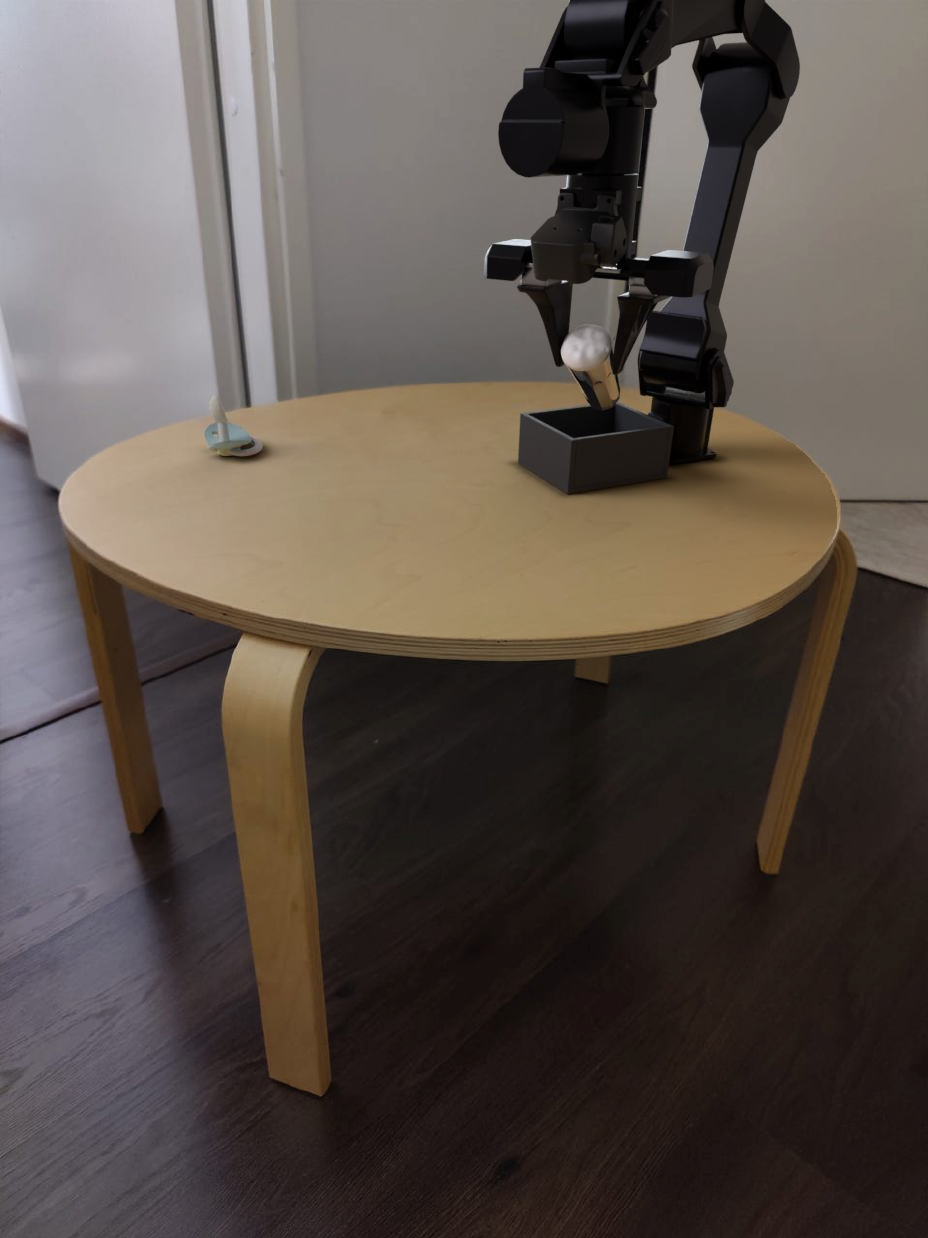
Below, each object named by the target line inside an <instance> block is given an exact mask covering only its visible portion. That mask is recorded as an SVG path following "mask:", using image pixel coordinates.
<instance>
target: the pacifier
mask: <svg viewBox="0 0 928 1238" xmlns="http://www.w3.org/2000/svg"><path fill="white" fill-rule="evenodd" d="M208 409H209V413H210V415H211V417H212V419H213V420H214V421H215V422H213V423H211V424H209V425H208V426H207V427H206V428H205V430H204V433H203V436H204V439H205V441H206V443H207V444H209V445H207V449H211V450H216V451H217V454H218V455H220V456H224V457H229V456H236V457H247V456H253V455H257V454H258V453H260V452H261V451H262V450H263V442H261V440H260V439H258V438H257V437H254V436H251V435H250V434H249V432H248V431H247V430H246V429H245V428H243V427H242V426H240V425H239V424H236V423H232V422H230V421H229V420H228V416H227V413H226V411H225V408H224V406H223V403H222V402H221V399H220V398H219V396H218V395H217V394H215V395H213V396H211V398H210V400H209V402H208ZM213 435H216V436H213ZM248 444H250V445H252V446H251V447H250V448H246V449H242V448H241V447H243V446H245V445H248Z"/></svg>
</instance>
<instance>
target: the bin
mask: <svg viewBox="0 0 928 1238" xmlns="http://www.w3.org/2000/svg"><path fill="white" fill-rule="evenodd" d="M673 430H674V426H672V425H670V424H667V423H665V422H663V421H660V420H658V419H656V418H654V417H651V416H649V415H648V413H644V412H642V411H640V410H637V409H635V408H633V407H630V406H629V405H626V404H623V403H621V402H619V401H617V403H616V404H615V405H614V406H613V407H611V408H609V409H606V410H603V411H602V410H597V409H593V408H592V407H591V405H590V404H586V405H576V406H567V407H561V408H552V409H544V410H535V411H527V412H520V415H519V433H518V434H519V435H518V436H519V437H518V455H517V464H518V465H520V466H521V467H523V468H525V469H527V471H530V472H531V473H533V474H534V475H536V476H537V477H539V478H541V479H542V480H544V481H546V482H547V483H549V484H551V485H552V486H553V487H555V488H557V489H558V490H560V491H561V492H563V493H565V495H572V494H578V493H584V492H590V491H597V490H601V489H607V488H615V487H620V486H625V485H632V484H638V483H645V482H649V481H656V480H662V479H667V478H668V472H669V466H670V464H669V459H670V452H671V444H672V437H673Z"/></svg>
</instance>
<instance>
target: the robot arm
mask: <svg viewBox="0 0 928 1238" xmlns="http://www.w3.org/2000/svg"><path fill="white" fill-rule="evenodd" d="M731 34H732V35H733V34H734V35H735V34H742V36H743V39H744V40H745V41H743V42H725V43H722V44H720V45H719V46H718V47H717V45H716V43H715V40H714V37H719V36H722V35H731ZM693 42H698V43H697V48H696V50H695V53H694V58H693V60H692V62H691V63H692V64H691V69H692V72H693V74H694V76H695V79H696V81H697V84H698V86H699V89H700V92H701V94H700V101H699V107H698V111H699V115H700V117H701V118H700V119H701V121H702V125H703V128H704V131H705V135H706V138H707V146H706V150H705V153H704V157H703V163H702V167H701V171H700V176H699V180H698V184H697V189H696V192H695V197H694V202H693V205H692V209H691V214H690V218H689V222H688V227H687V231H686V235H685V239H684V245H683V248H682V250H674V249H667V250H663V251H660V252H658V253H654V254H651V255H650V256H649V257H648V258H643V257H632V256H633V255H636V253H637V252H636V251H637V243H638V241H637V240H633V236H634V225H635V215H636V207H637V206H636V205H637V202H641V200H642V191H643V187H642V186H638V184H639V173H640V165H641V163H640V162H641V152H642V143H643V141H642V140H643V131H644V121H645V111H646V109H647V110H648V109H655V108H656V107H657V104H658V99H657V97H656V94H655V93H654V91H653V89H651V88H650V87H649V85H648V84H647V82H646V80H645V75H646V73H649V72H651V71H652V70H653V69H655V68H657V67H658V66H660V65H662V64H663V63H664V62H666V61H667V60H669V58H670V57H671V56H672V49H673V48H675V47H677V46H680V45H684V44H689V43H693ZM800 72H801V63H800V56H799V53H798V49H797V45H796V41H795V37H794V33H793V29H792V26H791V25H790V24H789V23H788V22H787V21H786V20H785V19H784V18H782V16H781V15H779V14H778V12H776V10H774V9H773V7H772V6H770V5H769V4H768V2H766V0H568V4H567V6H566V7H565V8H564V10H563V12H562V13H561V16H560V19H559V21H558V23H557V25H556V28H555V30H554V33H553V35H552V37H551V40H550V42H549V44H548V46H547V49H546V51H545V53H544V55H543V58H542V61H541V63H540V65H539V67H526V68H524V69H523V74H522V88H521V89H519V90H518V91H517V92H515V93H514V94H513V95H512V97H511V98H510V99H509V101H508V102H507V104H506V106H505V109H504V110H503V112H502V116H501V120H500V122H499V123H498V130H497V132H498V133H497V134H498V137H497V138H498V145H499V149H500V153H501V155H502V158H503V160H504V162H505V163H506V165H507V166H508V168H509V169H510V170H511V171H512V172H514V173H515V174H516V175H518V176H520V177H523V178H546V177H562V176H566V184H565V187H561V188H559V194H558V195H557V206H556V210H555V213H554V214H553V216H550V217H548V218H547V219H546V220H545V221H544V222H543V223H542V224H541V226H540V227H539V228H538V229H537V230H536V231H535V232H534V233H533V234H532V235H531V236H530V238H529V239H522V238H513V239H509V240H508V239H507V240H504V241H499V242H493V243H491V245H490V246H489V248H488V249H487V251H486V254H485V256H484V268H483V269H484V271H483V273H484V274H483V276H484V277H483V278H485V279H487V280H496V281H505V282H506V281H507V282H514V281H515V282H516V281H517V280H518V279H519V277H521V278H520V283H519V284H517V285H516V289H517V291H518V292H519V293H523V294H524V293H525V295H527V296H528V297H529V298H530V299H531V301H532V302H533V303H534V304H535V306H536V308H537V311H538V313H539V315H540V318H541V320H542V323H543V326H544V330H545V333H546V337H547V340H548V344H549V347H550V351H551V354H552V359H553V361H554V365H555V367H558V368H561V367H563V366H564V365H565V363H564V361H563V360H562V356H561V347H562V344H563V341H564V339H565V337H566V336H567V335H568V333H570V323H571V311H572V310H571V309H572V301H573V300H572V299H573V287H574V285H582V284H585V283H587V282H589V281H591V280H592V279H603V280H613V281H624V282H628V283H627V285H628V291H627V292H625V293H623V294H619V295H617V296H616V299H617V305H618V313H619V315H618V321H617V322H618V323H617V329H616V335H615V339H614V348H613V367H612V373H613V375H619V374H621V372H622V370H623V368H624V367H625V364H626V362H627V361H628V358H629V356H630V354H631V352H632V350H633V349H634V346H635V344H636V342H637V340H638V338H639V336H640V334H641V331H642V330H643V328H644V326H645V329H644V335H643V338H642V342H641V343H640V346H639V351H638V354H637V374H638V389H639V396H643V397H651V404H650V405H651V406H650V411H649V412H648V413H647V415H649V416H651V417H654V418H656V419H658V420H660V421H663V422H665V423H667V424H670V425H672V426H674V430H673V437H672V444H671V452H670V459H669V465H670V464H671V465H677V464H683V463H689V462H694V461H700V460H707V459H713V458H714V459H715V458H717V456H718V455H717V454H718V452H717V451H715V450H713V449H710V448H709V443H710V436H711V431H712V423H713V417H714V412H715V408H726V407H728V402H729V400H730V397H731V396H732V393H733V387H734V384H735V381H734V378H733V374H732V371H731V369H730V366H729V362H728V359H727V357H726V353H725V349H726V344H727V339H728V332H727V330H726V329H727V328H726V326H725V322H724V320H723V316H722V312H721V309H720V301H721V298H722V293H723V290H724V286H725V283H726V278H727V274H728V270H729V266H730V262H731V258H732V254H733V251H734V246H735V242H736V238H737V234H738V229H739V226H740V224H741V218H742V214H743V211H744V207H745V202H746V199H747V194H748V190H749V187H750V182H751V179H752V176H753V170H754V166H755V163H756V162H755V161H756V159H757V155H758V153H759V150H761V148H762V147H763V146H764V145H765V144H766V143H767V142H768V140H769V139H770V138H771V137H772V136H773V134H774V133H775V132H776V131H777V130H778V128H779V127H780V126H781V125H782V124H783V121H784V118H785V115H786V112H787V109H788V106H789V103H790V99H791V97H793V95H794V93H796V90H797V86H798V85H799V80H800V74H801V73H800ZM667 299H668V301H666V303H665V304H664V305H663V306H662V307H661V308H660V310H655V308H656V307H657V306H658V303H661V302H662V301H665V300H667Z"/></svg>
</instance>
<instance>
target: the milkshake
mask: <svg viewBox="0 0 928 1238" xmlns="http://www.w3.org/2000/svg"><path fill="white" fill-rule="evenodd" d="M615 340H616V336H614V337H613V340H612V337H611V335H610V333H609V331H607V329H605V327H603V326H600V325H597V324H591V323H585V324H581V325H578V326H576V327H574V329H572V330H571V331H569V333H568V335H567V336H566V337H565V339H564V341H563V344H562V347H561V356H562V360H563V361H564V365H565V366H566V368H567V370H568V371H569V372H570V374H571V376H572V378H573V379H574V381H575V382H576V384H577V386H578V388H579V389H580V392H581V393H582V395H583V397H584V398H585V400H586V402H587V403H588V405H591V407H592V408H593V409H597V410H602V411H603V410H606V409H609V408H611V407H613V406H614V405H615V404H616V403H617V402H619V400H620V399H621V386H620V380H619V376H618V375H619V374H617V375H613V373H612V367H613V353H614V348H613V345H614V342H615Z"/></svg>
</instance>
